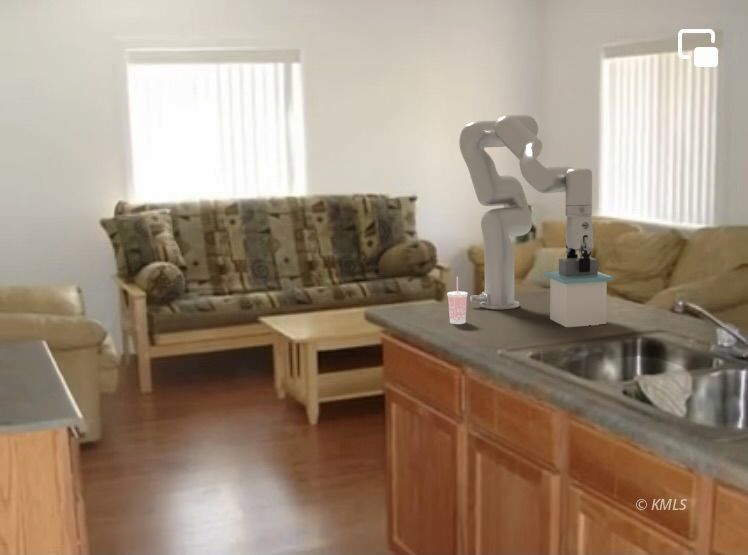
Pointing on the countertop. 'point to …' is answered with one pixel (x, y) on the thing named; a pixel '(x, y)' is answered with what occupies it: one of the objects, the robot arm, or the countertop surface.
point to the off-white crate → (578, 303)
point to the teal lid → (577, 272)
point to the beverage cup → (457, 306)
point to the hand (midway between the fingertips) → (578, 269)
